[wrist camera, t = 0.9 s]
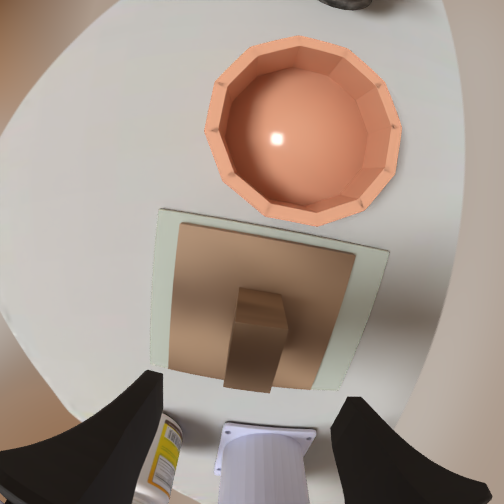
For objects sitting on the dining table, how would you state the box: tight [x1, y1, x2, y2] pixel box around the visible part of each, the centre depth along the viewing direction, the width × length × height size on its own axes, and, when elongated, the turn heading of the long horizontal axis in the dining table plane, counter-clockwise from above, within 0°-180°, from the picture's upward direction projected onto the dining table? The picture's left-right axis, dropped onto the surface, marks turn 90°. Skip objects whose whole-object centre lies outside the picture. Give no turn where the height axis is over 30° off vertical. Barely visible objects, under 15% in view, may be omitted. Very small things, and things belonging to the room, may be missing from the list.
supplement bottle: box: [132, 413, 183, 504], centre depth 16 cm, size 6×6×10 cm
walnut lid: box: [168, 222, 356, 393], centre depth 15 cm, size 10×10×5 cm
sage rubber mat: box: [150, 209, 390, 391], centre depth 17 cm, size 11×14×1 cm
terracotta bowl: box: [204, 35, 402, 227], centre depth 13 cm, size 9×9×4 cm
